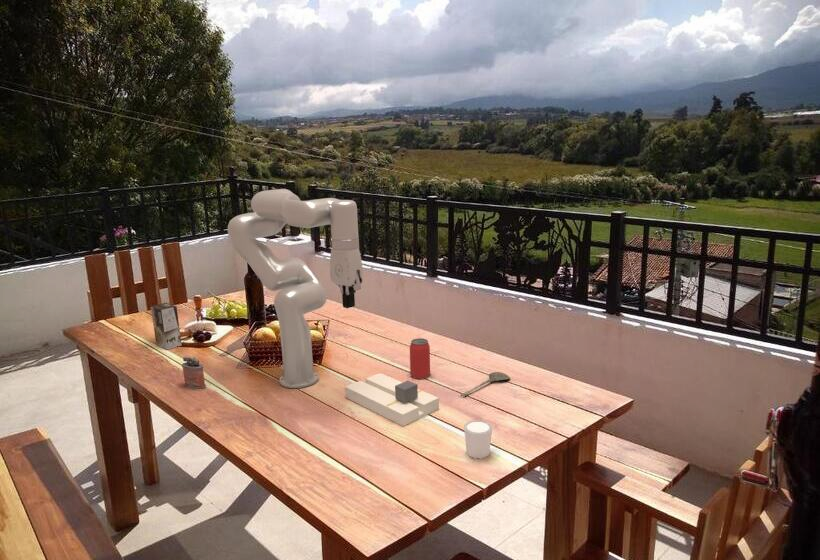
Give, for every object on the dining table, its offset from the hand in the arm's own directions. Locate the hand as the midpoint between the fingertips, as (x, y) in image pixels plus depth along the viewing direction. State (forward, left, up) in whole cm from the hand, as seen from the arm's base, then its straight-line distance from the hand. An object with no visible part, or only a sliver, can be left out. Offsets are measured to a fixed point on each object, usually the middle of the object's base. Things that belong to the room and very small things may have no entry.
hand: (348, 306), depth 163 cm
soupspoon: (+23, +34, -30) cm, 51 cm away
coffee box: (-91, -21, -29) cm, 98 cm away
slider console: (+10, +6, -29) cm, 31 cm away
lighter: (-45, -30, -29) cm, 62 cm away
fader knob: (+17, +6, -28) cm, 33 cm away
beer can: (+2, +26, -29) cm, 39 cm away
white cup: (+46, +3, -29) cm, 55 cm away
